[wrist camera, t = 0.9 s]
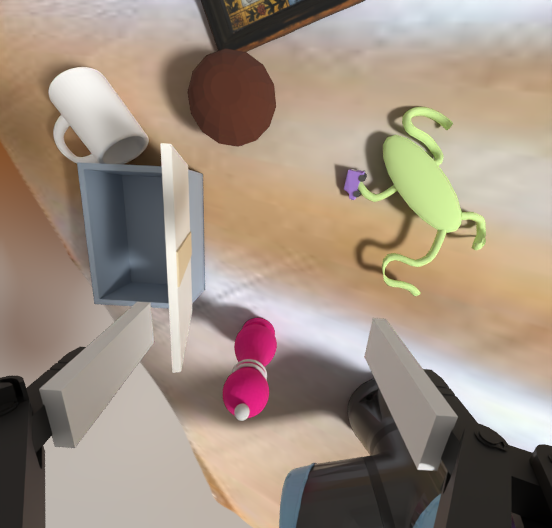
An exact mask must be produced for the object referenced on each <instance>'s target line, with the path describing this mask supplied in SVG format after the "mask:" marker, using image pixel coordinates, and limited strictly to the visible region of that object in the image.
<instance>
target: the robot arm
mask: <svg viewBox="0 0 552 528" xmlns="http://www.w3.org/2000/svg"><path fill="white" fill-rule="evenodd" d="M153 343H154V336H153V325H152V314H151V303H150V302H136V303H135V304H134V305H133V306H132V307H131V308H130V309H128V310H127V311H126V312H125V313H124V314H123V315H122V316H121V317H119V318H118V319H117V320H116V321H115V322H114V323H113V324H112V325H111V326H109V327H108V328H107V329H106V330H105V331H104V332H103V333H102V334H100V335H99V336H98V337H97V338H96V339H95V340H94V341H93V342H91V343H90V344H89V345H88V346H87V347H79V348H77V349H75V350H73V351H71V352H69V353H68V354H66V355H65V356H64V357H63V358H62V359H61V360H59V361H58V363H56V364H55V365H53V366H52V367H51V368H50V370H47V372H45V373H44V374H43V375H41V376H40V377H39V378H38V379H37V380H36V381H34V382H33V383H32V384H31V385H30V386H29V387H27V388H26V386H25V383H24V380H23V378H22V377H20V376H6V377H2V378H0V528H45V450H44V447H43V445H44V444H45V442H46V441H47V440H48V439H49V438H50V436H52V438H53V442H54V445H55V447H68V448H69V447H70V448H75V447H76V446H77V445H78V443H79V442H80V440H81V439H82V438H83V437H84V435H85V434H86V433H87V431H88V430H89V429H90V427H91V426H92V425H93V423H94V422H95V421H96V419H97V418H98V417H99V415H100V414H101V413H102V411H103V410H104V409H105V407H106V406H107V405H108V403H109V402H110V400H111V399H112V398H113V397H114V395H115V394H116V392H117V391H118V390H119V389H120V387H121V386H122V385H123V383H124V382H125V381H126V379H127V378H128V377H129V375H130V374H131V373H132V371H133V370H134V368H135V367H136V366H137V365H138V363H139V362H140V361H141V359H142V358H143V357H144V355H145V354H146V353H147V351H148V350H149V349H150V347H151V346H152V345H153ZM365 359H366V361H367V363H368V365H369V367H370V370H371V372H372V374H373V376H374V378H375V379H373V380H370V381H368V382H366V383H364V384H363V385H361V386H360V387H359V388H358V389H357V390H356V391H355V392H354V394H353V395H352V397H351V399H350V401H349V404H348V417H349V421H350V424H351V427H352V429H353V432H354V433H355V435H356V436H357V438H358V439H359V440H360V442H361V443H362V444H363V446H364V447H365V449H366V450H367V451H368V453H369V454H370V456H366V457H358V458H352V459H346V460H339V461H333V462H326V463H319V464H317V463H312V464H311V465H308V466H304V467H300V468H295V469H293V470H291V471H290V472H289V473H288V475H287V477H286V479H285V482H284V485H283V489H282V495H281V504H280V519H279V528H511V512H512V516H513V519H514V523H515V526H516V528H552V446H549V445H545V444H544V445H538V446H537V447H536V449H535V450H534V452H533V453H531V452H528V451H525V450H522V449H519V448H516V447H513V446H510V445H508V444H507V442H506V441H505V440H504V439H503V438H502V437H501V436H500V435H499V434H498V433H497V432H495V431H493V430H492V429H490V428H489V427H486V426H484V425H481V424H478V423H477V422H476V420H475V419H474V418H473V417H472V415H471V414H470V413H469V412H468V410H467V409H466V408H465V407H464V405H463V404H462V403H461V402H460V400H459V399H458V398H457V397H456V396H455V394H454V393H453V392H452V390H451V389H449V387H448V385H447V384H446V383H445V382H444V380H443V379H442V378H441V377H440V376H438V375H437V374H436V373H435V372H433V371H432V370H426V369H422V367H421V366H420V365H419V363H418V362H417V361H416V359H415V358H414V357H413V355H412V354H411V352H410V351H409V350H408V348H407V347H406V346H405V344H404V343H403V342H402V340H401V339H400V338H399V336H398V335H397V333H396V332H395V331H394V329H393V328H392V327H391V325H390V324H389V323H388V321H387V320H386V319H379V318H373V320H372V325H371V329H370V334H369V338H368V343H367V348H366V352H365Z"/></svg>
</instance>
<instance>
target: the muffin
mask: <svg viewBox="0 0 552 528" xmlns="http://www.w3.org/2000/svg"><path fill="white" fill-rule="evenodd" d="M188 98H189V104H190V110H191V114H192V116H193V117H194V119H195V121H196V122H197V124H198V126H199V127H200V129H201V130H202V132H203V133H205V134H206V135H208V136H209V137H211V138H212V139H213V140H215V141H216V142H218V143H220V144H226V145H232V146H242V145H244V144H247V143H250V142H253V141H256V140H257V139H258V138H259V137H260V136H261V135H262V134H263V133H264V132H265V131H266V130H267V128H268V127H269V126H270V123H271V120H272V117H273V114H274V111H275V108H276V101H275V90H274V84H273V82H272V80H271V78H270V76H269V75H268V73H267V71H266V69H265V67H264V65H263V64H261V63H260V62H259V61H257V60H256V59H255V58H253V57H252V56H251V55H249V54H248V53H247V52H243V51H237V50H231V49H223V50H220V51H217V52H215V53H212V54H209V55H206V56H205V58H204V59H203V60H202V61H201V62H200V64H199V65H198V66H197V67H196V68H195V69H194V71H193V73H192V77H191V81H190V85H189V89H188Z"/></svg>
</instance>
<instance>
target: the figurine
mask: <svg viewBox="0 0 552 528" xmlns="http://www.w3.org/2000/svg"><path fill="white" fill-rule="evenodd" d="M414 116H425V117H429V118H431V119H433V120H434V121H436V122H437V123H439V124H440V125H441V126H443V127H444V128H445V129H446V130H448V129H450V127H451V126H452V124H453V123H452V121H450V120H449V119H448V118H447V117H446V116H444V115H443V114H441V113H439V112H438V111H435V110H433V109H430V108H427V107H414V108H412V109H410V110H408V111H407V112H406V113H405V114H404V116H403V118H402V124H403V126H404V129H405V131H406V132H407V133H408V134H409V135H411V136H413V137H414V138H416V139H418V140H420V141H421V142H423V143H424V144H425V145H426V146H427V147H428V149H429V150H430V151H431V153H432V154H433V156H434V160H433V159H432V158H431V157H430V156H429V155H428V154H427V153H426V152H425V151H424V150H423V149H422V148H421V147H419V146H418V145H416V144H415V143H414V142H412V141H411V140H409V139H408V138H404V137H401V136H398V135H393V136H390V137H387V139H386V140H385V142H384V144H383V159H384V162H385V165H386V168H387V171H388V174H389V176H390V178H391V180H392V182H393V183H394V185H393V186H391V187H390V188H388V189H387V190H385V191H384V192H382V193H379V194H374V193H371V192H370V191H369V190H367V188H366V187H365V186H364V184H363V183H362V182H363V181H365V179H366V177H367V175H366V173H365V171H360V170H355V169H349V170H348V174H347V178H346V182H345V187H344V190H346V191H347V192H348V193H349V199H351V200H354V199H355V198H356V197H359V196H360V194H362V195H363V196H364V197H365V198H367V199H368V200H370V201H373V202H376V201H380V200H383V199H385V198H387V197H388V196H390V195H392V194H393V193H395V192H397V191H398V192H399V193H400V195H401V196H402V197H403V199H404V200H405V202H406V203H407V204H408V206H409V207H410V208H411V209H412V210H413V211H414V212H415V213H416V214H417V215H418V216H419V217H420V218H421V219H422V220H424V221H425V222H426V223H428V224H429V225H431V226H432V227H434V228H435V229H438V231H437V234H436V237H435V240H434V242H433V244H432V247H431V249H430V251H429V252H428V253H427V255H426V256H424V257H422V258H420V259H417V260H414V259H410V258H408V257H405V256H403V255H400V254H396V253H391V254H388V255H387V256H386V257H385V258H384V259H383V263H382V270H383V277H384V282H385V283H386V284H387V285H388V286H391V287H399V288H403V289H406V290H408V291H409V292H411V293H412V295H413V296H418V295H420V291H419V290H418V289H417V288H416V287H415V286H413V285H411V284H409V283H406V282H403V281H397V280H392V279H389V278H388V277H387V276H385V274H384V272H385V267H386V265H387V264H388V263H389V262H390V261H393V260H397V261H401V262H403V263H406V264H408V265H411V266H416V267H420V266H422V265H425V264H427V263H429V262H431V261H432V260H433V259H434V257H435V256H436V255H437V253H438V251H439V249H440V247H441V245H442V243H443V240H444V238H445V235H446V232H447V233H449V232H453V231H457V229H458V228H459V226H460V225H461V220H467V219H470V220H473V221H476V229H477V235H476V238H475V240H474V242H473V245H472V248H473V249H474V250H478V249H481V248H482V247H483V246H484V245H485V242H486V239H485V236H486V229H485V220H484V218H483V217H482V216H480V215H478V214H476V213H474V212H461V209H460V205H459V202H458V199H457V195H456V194H455V192H454V190H453V188H452V186H451V184H450V182H449V180H448V178H447V177H446V176H445V174H444V173H443V172H442V170H441V169H440V167H439V165H440V164H441V163H442V161H443V154H442V151H441V149H440V148H439V146H438V145H437V144H436V142H435V141H434V140H433V139H432V138H431V137H430V136H429V135H428V134H426V133H425V132H423V131H421V130H419V129H417V128H416V127H414V126H413V124H412V122H411V118H412V117H414Z"/></svg>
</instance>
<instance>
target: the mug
mask: <svg viewBox="0 0 552 528" xmlns="http://www.w3.org/2000/svg"><path fill="white" fill-rule="evenodd" d="M49 98H50V100H51V102H52V103H53V104H54V106H55V107H56V108H57V109H58V111H59V112H60V113H61V115H60V117H59V118H58V119H57V121H56V123H55V126H54V130H53V135H54V140H55V143H56V145H57V147H58V149H59V150H60V151H61V152H62V153H63V154H64V155H65V156H66V157H67V158H68V159H70V160H71V161H73V162H75V163H77V162H79V163H100V164H122V165H123V164H125V163H128V162H130V161H132V160H133V159H135V158H136V157H138V156H139V155H140V154H141V153H142V152H143V151H144V150H145V149H146V147H147V145H148V142H149V138H148V136H147V134H146V133H145V132H144V130H143V129H142V127H141V126H140V125H139V123H138V122H137V121H136V119H135V118H134V116H133V115H132V114H131V112H130V111H129V110H128V108H127V107H126V105H125V104H124V103H123V101H122V100H121V98H120V97H119V96H118V94H117V93H116V92H115V90H114V89H113V87H112V86H111V85H110V83H109V82H108V81H107V79H106V78H105V76H104V75H103V74H102V73H100V72H99V71H97V70H95V69H93V68H88V67H76V68H72V69H68V70H66V71H64V72H62V73H60V74H59V75H58V76H57V77H55V78H54V80H53V81H52V82H51V84H50V87H49ZM69 126H71V128H72V129H73V130H74V131H75V133H76V134H77V135H78V137H79V138H80V139H81V140H82V142H83V143H84V144H85V146H86V147H87V148H88V149H89V151H90V152H91V153H92V154H90V155H88V156H86V157H77V156H76V155H74V154H73V153H72V152H71V151H70V150H69V148H68V147H67V146H66V144H65V142H64V134H65V132H66V130H67V129H68V128H69Z"/></svg>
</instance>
